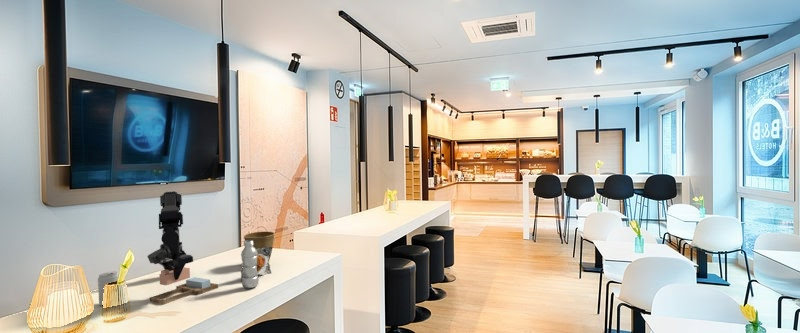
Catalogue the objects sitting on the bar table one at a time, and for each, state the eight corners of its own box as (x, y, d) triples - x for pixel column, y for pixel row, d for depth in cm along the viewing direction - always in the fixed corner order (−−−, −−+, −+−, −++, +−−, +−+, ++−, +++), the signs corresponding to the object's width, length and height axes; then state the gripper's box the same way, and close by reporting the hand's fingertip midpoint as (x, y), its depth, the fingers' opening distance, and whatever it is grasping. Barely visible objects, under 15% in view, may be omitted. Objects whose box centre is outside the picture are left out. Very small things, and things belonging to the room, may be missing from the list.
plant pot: (239, 266, 193) (237, 235, 192) (263, 259, 205) (262, 230, 205) (257, 270, 185) (256, 238, 185) (281, 262, 198) (280, 232, 197)
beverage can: (108, 307, 143) (106, 276, 143) (94, 306, 144) (93, 275, 144) (123, 301, 149) (122, 271, 149) (110, 300, 151) (109, 270, 150)
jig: (145, 300, 150) (145, 296, 149) (196, 283, 169) (196, 279, 169) (167, 305, 143) (167, 302, 142) (218, 287, 162) (218, 284, 162)
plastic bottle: (244, 285, 163) (242, 239, 163) (260, 284, 164) (258, 239, 163) (239, 290, 157) (237, 243, 156) (256, 289, 157) (254, 242, 157)
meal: (247, 283, 166) (246, 254, 166) (241, 282, 168) (239, 253, 168) (273, 273, 179) (272, 246, 179) (267, 272, 181) (266, 245, 181)
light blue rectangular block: (186, 289, 162) (186, 279, 162) (194, 286, 165) (194, 277, 165) (202, 292, 158) (201, 282, 157) (210, 288, 161) (210, 279, 161)
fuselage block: (159, 284, 149) (159, 270, 149) (183, 276, 158) (182, 263, 158) (166, 285, 148) (165, 271, 147) (189, 277, 157) (189, 264, 156)
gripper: (136, 243, 149) (138, 282, 149) (164, 247, 140) (166, 288, 141) (165, 237, 159) (167, 274, 159) (193, 240, 150) (194, 279, 151)
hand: (173, 279), depth 152 cm, fingers closed on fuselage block, 4 cm apart
